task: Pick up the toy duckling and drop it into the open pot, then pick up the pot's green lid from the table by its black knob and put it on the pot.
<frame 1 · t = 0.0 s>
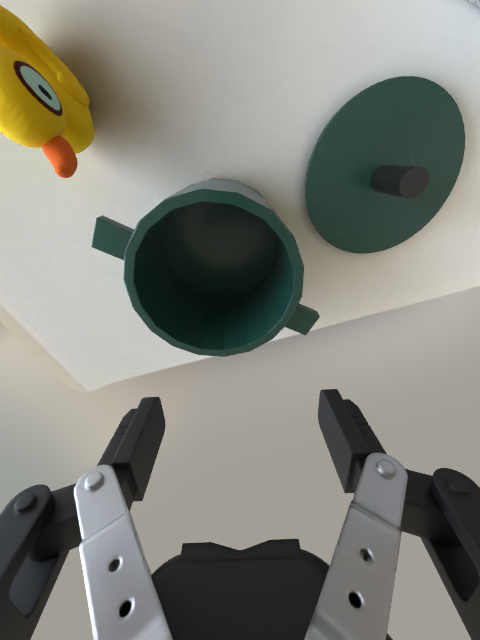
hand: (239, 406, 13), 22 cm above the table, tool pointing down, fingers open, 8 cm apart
lid: (379, 178, 27), point 1 cm above the table
pot: (221, 247, 31), on the table
duckling: (70, 106, 24), on the table
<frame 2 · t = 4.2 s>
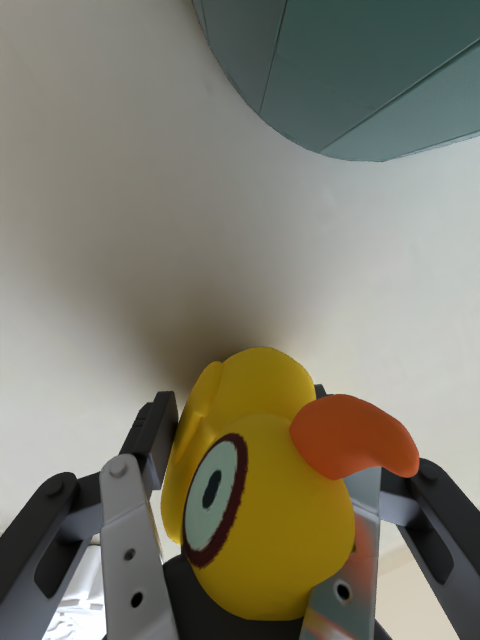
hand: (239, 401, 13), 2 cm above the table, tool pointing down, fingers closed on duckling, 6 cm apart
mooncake: (95, 575, 24), on the table
duckling: (242, 377, 15), on the table, touching gripper
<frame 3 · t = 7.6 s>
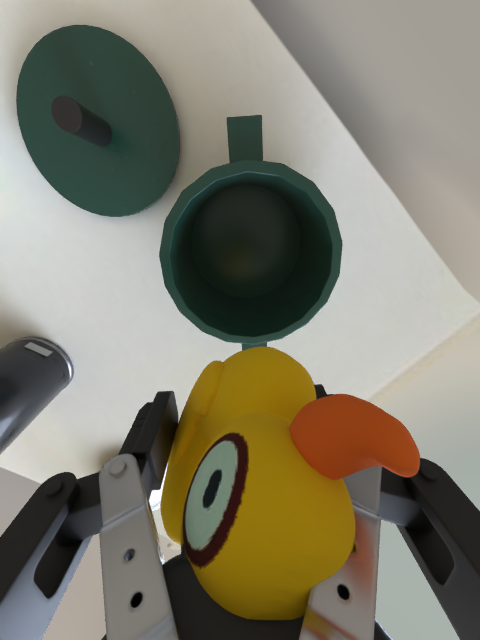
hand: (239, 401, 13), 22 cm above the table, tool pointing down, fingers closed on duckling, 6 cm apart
lid: (102, 134, 26), point 1 cm above the table
pot: (245, 245, 31), on the table
duckling: (242, 377, 15), point 20 cm above the table, touching gripper
when the fingers open (12 cm above the table, at t = 11.2 s): duckling drops 10 cm, resting on pot.
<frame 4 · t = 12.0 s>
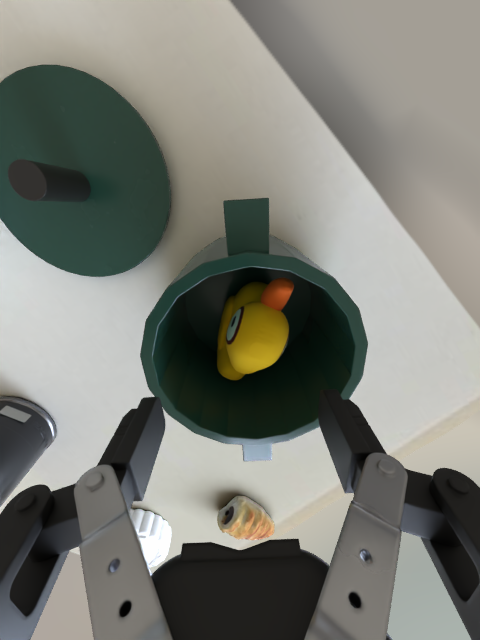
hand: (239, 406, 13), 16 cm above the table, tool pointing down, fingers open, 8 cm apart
lid: (80, 186, 22), point 1 cm above the table
pot: (248, 304, 27), on the table
pastry: (245, 508, 42), on the table
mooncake: (137, 527, 44), on the table
duckling: (248, 308, 27), resting on pot
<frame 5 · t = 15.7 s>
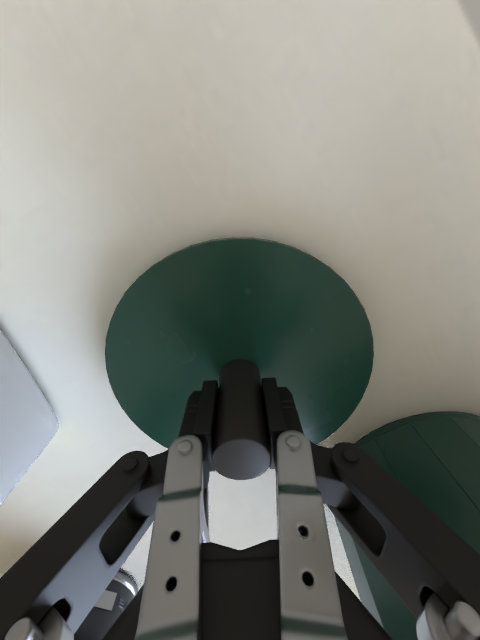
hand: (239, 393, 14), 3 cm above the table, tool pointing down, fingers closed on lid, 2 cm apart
lid: (239, 370, 16), point 1 cm above the table, touching gripper
photo printer: (8, 374, 17), on the table
pot: (417, 479, 21), on the table
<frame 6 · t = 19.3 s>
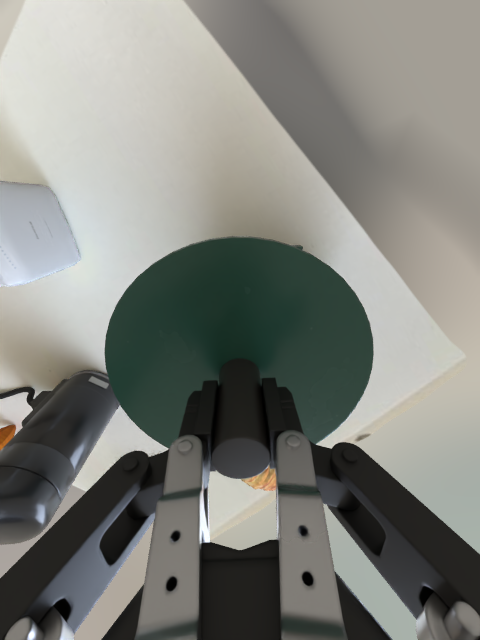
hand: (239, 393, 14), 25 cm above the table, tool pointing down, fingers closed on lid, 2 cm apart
lid: (239, 369, 16), point 23 cm above the table, touching gripper
photo printer: (56, 228, 34), on the table
pastry: (261, 466, 53), on the table
carrot: (15, 424, 48), on the table
when the fingers open (14 cm above the table, at t = 22.8 s): lid stays where it is, resting on pot.
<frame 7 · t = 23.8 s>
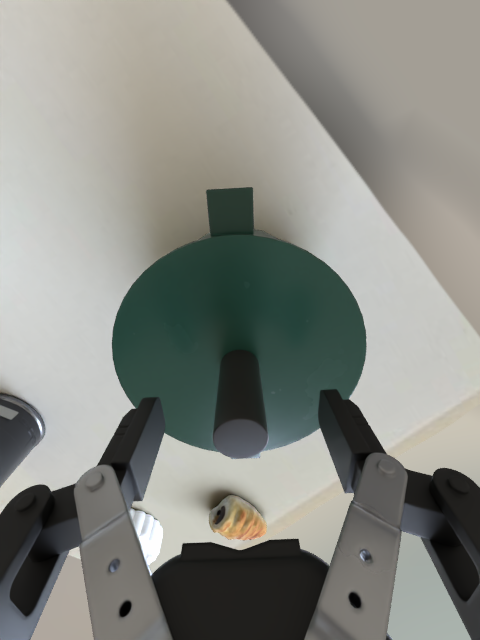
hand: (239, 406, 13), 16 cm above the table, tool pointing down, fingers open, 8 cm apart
lid: (239, 360, 16), point 11 cm above the table, touching pot
pot: (238, 300, 27), on the table
pastry: (237, 508, 42), on the table
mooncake: (128, 527, 44), on the table
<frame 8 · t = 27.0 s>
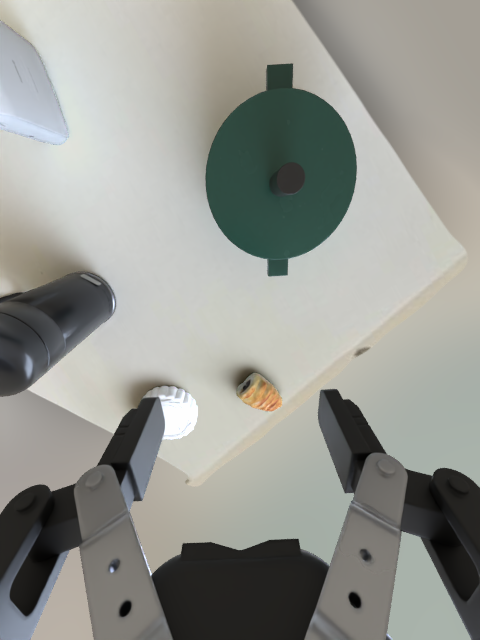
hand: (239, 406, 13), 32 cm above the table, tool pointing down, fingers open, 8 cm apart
lid: (279, 184, 27), point 11 cm above the table, touching pot
photo printer: (44, 100, 33), on the table
pot: (267, 190, 38), on the table
pastry: (258, 387, 52), on the table
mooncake: (169, 407, 54), on the table
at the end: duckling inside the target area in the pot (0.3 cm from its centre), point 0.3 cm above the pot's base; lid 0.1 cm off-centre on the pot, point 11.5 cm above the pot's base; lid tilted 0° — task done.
